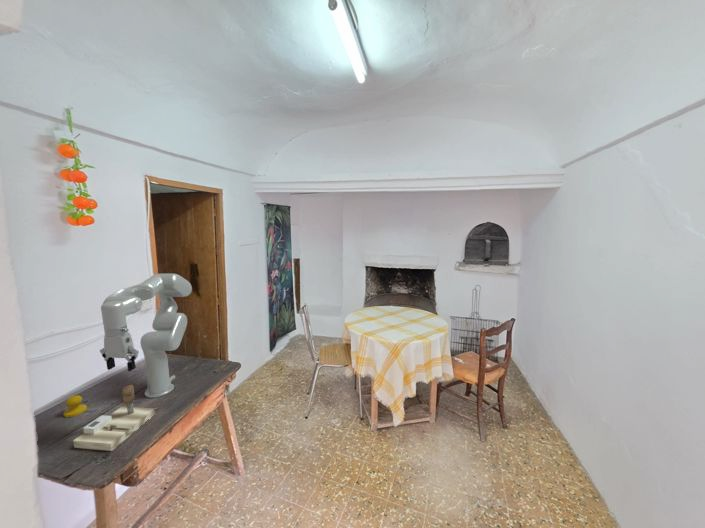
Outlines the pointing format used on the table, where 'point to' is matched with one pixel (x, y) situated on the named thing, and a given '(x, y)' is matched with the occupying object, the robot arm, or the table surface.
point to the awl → (128, 397)
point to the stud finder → (97, 424)
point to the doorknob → (74, 406)
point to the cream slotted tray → (115, 429)
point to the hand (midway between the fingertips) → (121, 368)
